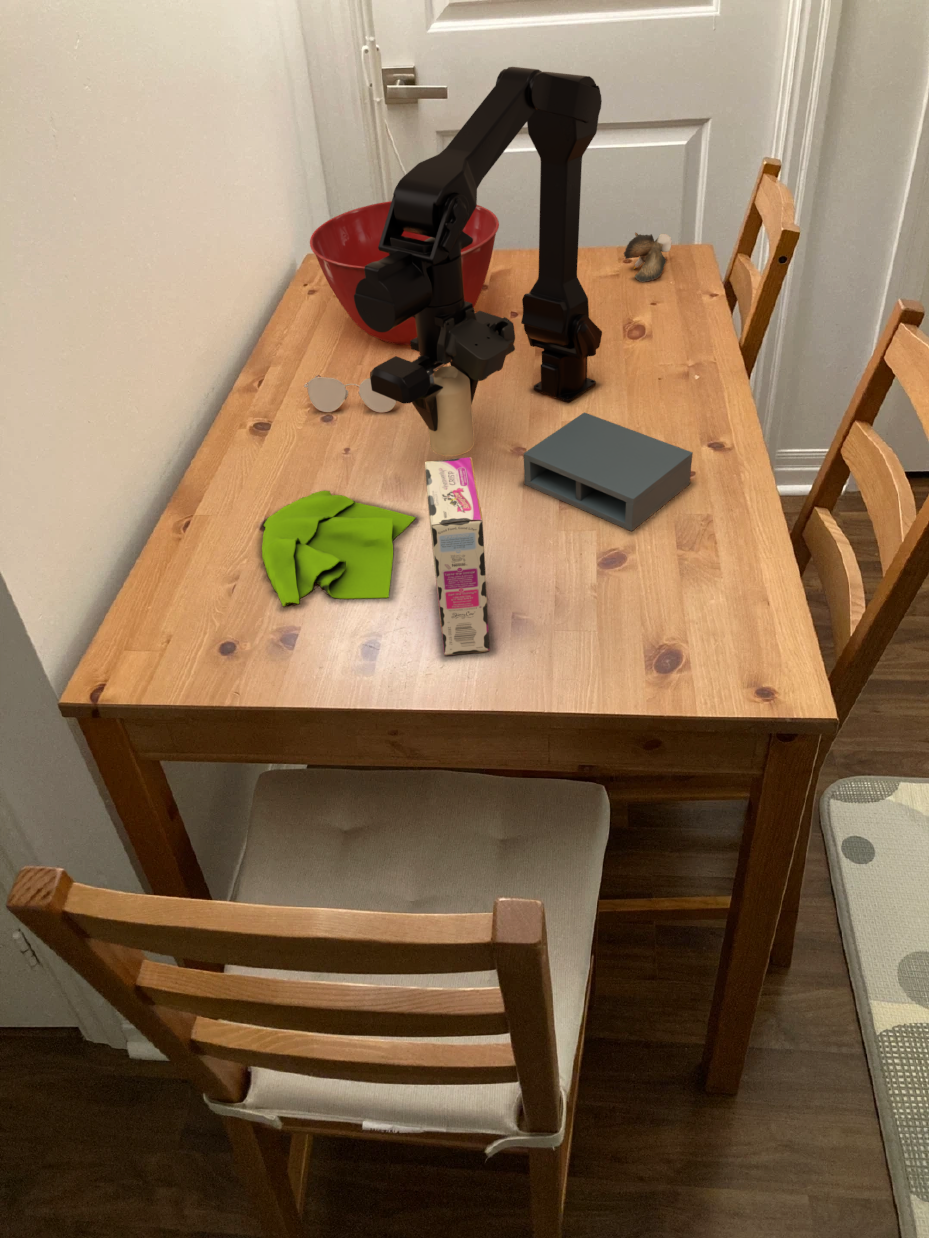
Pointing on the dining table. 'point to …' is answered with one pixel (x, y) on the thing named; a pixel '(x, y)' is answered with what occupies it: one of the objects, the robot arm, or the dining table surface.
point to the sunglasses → (344, 395)
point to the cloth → (331, 547)
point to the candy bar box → (458, 555)
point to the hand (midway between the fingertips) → (449, 420)
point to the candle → (452, 414)
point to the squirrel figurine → (648, 255)
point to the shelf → (608, 470)
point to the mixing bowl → (355, 245)
